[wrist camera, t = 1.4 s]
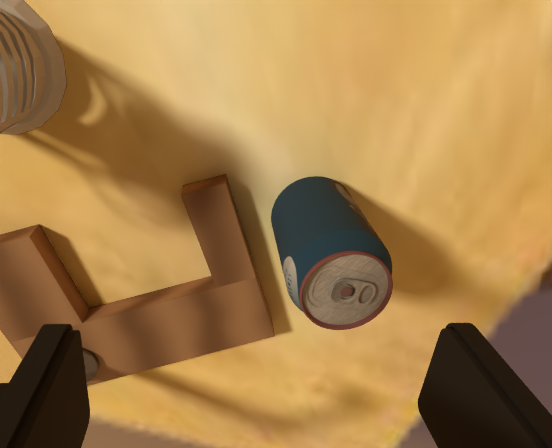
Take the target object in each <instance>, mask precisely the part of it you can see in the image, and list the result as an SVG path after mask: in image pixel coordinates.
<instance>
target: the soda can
mask: <svg viewBox="0 0 552 448" xmlns="http://www.w3.org/2000/svg"><path fill="white" fill-rule="evenodd" d="M271 222H272V227H273V231H274V236H275V240H276V244H277V248H278V252H279V256H280V261H281V265H282V269H283V273H284V277H285V282H286V286H287V290H288V293H289V296H290V298H291V299H292V301H293V302H294V304H295V305H296V306H297V307H298V308H299V309H300V310H301V311H303V312H304V313H305V314H306V316H307V317H308V318H309V319H310V320H311V321H312V322H313V323H315V324H316V325H318V326H320V327H323V328H326V329H332V330H345V329H351V328H355V327H358V326H361V325H363V324H365V323H367V322H369V321H371V320H372V319H373V318H375V317H376V316H377V315H378V314H379V313H380V312H381V311H382V310H383V309H384V308H385V306H386V305H387V303H388V301H389V299H390V297H391V294H392V288H393V282H392V277H391V275H392V262H391V257H390V255H389V252H388V250H387V249H386V247H385V246H384V244H383V243H382V241H381V240H380V238H379V237H378V235H377V234H376V232H375V231H374V229H373V228H372V227H371V225H370V224H369V222H368V221H367V219H366V218H365V216H364V215H363V213H362V212H361V210H360V209H359V207H358V206H357V204H356V203H355V201H354V200H353V199H352V197H351V196H350V194H349V193H348V191H347V190H346V189H345V188H344V187H343V186H342V185H341V184H339V183H338V182H336V181H334V180H332V179H329V178H325V177H316V176H315V177H307V178H303V179H300V180H297V181H295V182H293V183H292V184H290V185H289V186H287V187H286V188H285V189H284V190H283V191H282V192H281V193H280V195H279V196H278V198H277V199H276V201H275V203H274V206H273V209H272V214H271Z"/></svg>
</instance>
